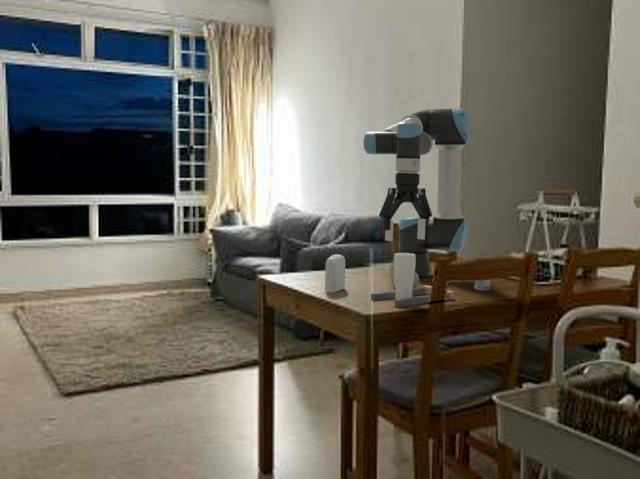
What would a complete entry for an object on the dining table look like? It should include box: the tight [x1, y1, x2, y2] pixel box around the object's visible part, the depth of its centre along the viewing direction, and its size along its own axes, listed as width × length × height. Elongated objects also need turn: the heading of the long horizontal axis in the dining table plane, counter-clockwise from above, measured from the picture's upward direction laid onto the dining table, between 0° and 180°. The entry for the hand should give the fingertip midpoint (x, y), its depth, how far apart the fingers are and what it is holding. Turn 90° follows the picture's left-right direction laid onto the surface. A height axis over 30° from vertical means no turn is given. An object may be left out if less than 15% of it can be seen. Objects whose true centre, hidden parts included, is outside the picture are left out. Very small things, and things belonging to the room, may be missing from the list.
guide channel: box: [370, 284, 455, 308], centre depth 211 cm, size 24×13×2 cm, turn 125°
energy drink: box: [473, 254, 492, 292], centre depth 230 cm, size 5×5×12 cm
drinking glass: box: [393, 252, 416, 300], centre depth 208 cm, size 7×7×15 cm
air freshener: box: [391, 272, 420, 288], centre depth 229 cm, size 11×8×10 cm
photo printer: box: [324, 254, 346, 294], centre depth 223 cm, size 10×4×12 cm, turn 156°
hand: (405, 240), depth 206 cm, fingers open, 13 cm apart
